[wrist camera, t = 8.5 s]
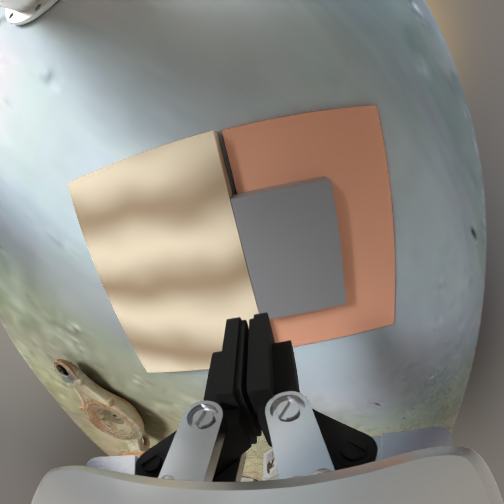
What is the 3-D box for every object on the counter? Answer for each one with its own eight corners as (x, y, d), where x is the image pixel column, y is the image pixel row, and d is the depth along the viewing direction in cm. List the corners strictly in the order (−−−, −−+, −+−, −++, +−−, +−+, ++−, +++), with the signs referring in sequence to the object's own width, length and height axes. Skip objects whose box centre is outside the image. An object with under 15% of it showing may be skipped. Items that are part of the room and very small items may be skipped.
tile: (233, 194, 21) (230, 199, 19) (325, 176, 20) (330, 179, 19) (261, 307, 25) (261, 320, 23) (340, 292, 24) (346, 304, 22)
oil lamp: (145, 444, 36) (130, 491, 27) (51, 353, 30) (15, 400, 21) (185, 440, 35) (172, 495, 25) (83, 339, 28) (41, 396, 19)
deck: (80, 179, 21) (67, 183, 20) (217, 131, 20) (212, 130, 18) (152, 360, 28) (147, 372, 26) (271, 347, 27) (271, 361, 25)
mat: (222, 130, 20) (221, 130, 19) (374, 105, 18) (376, 104, 18) (275, 347, 27) (275, 349, 26) (392, 321, 25) (393, 323, 25)
